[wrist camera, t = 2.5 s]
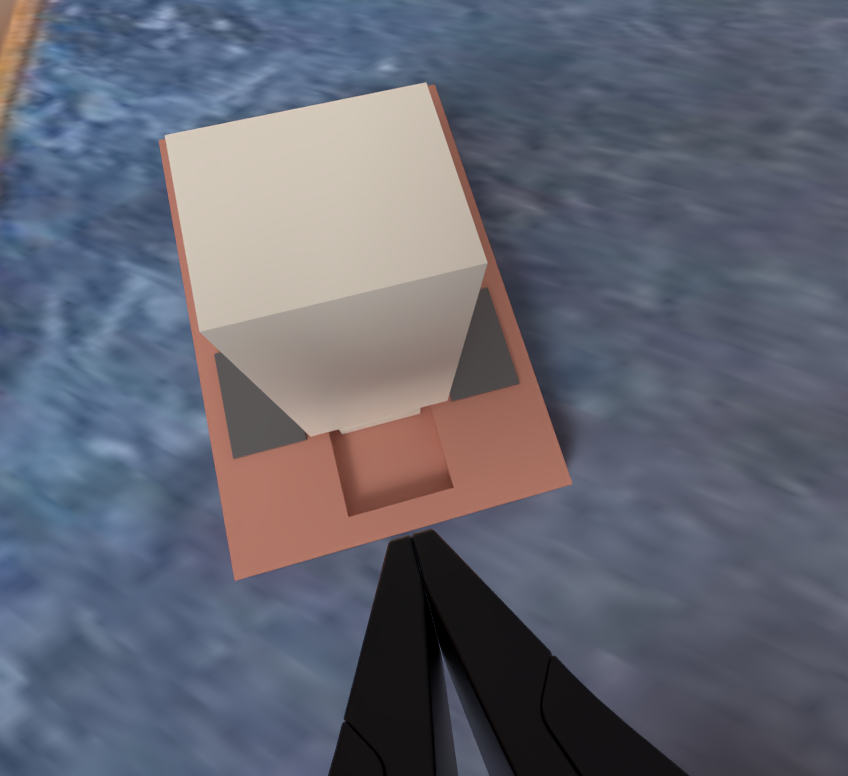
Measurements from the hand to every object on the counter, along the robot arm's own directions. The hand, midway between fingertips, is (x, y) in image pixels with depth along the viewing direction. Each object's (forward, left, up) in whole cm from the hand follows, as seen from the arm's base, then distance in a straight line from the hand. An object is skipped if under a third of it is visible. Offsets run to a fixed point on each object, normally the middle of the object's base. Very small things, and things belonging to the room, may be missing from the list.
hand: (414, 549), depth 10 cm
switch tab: (+4, +5, -10) cm, 12 cm away
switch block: (+6, +7, -10) cm, 14 cm away
